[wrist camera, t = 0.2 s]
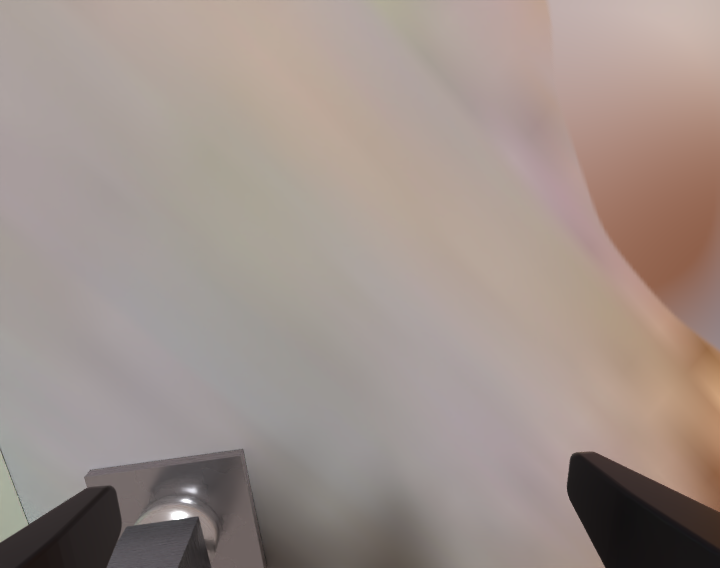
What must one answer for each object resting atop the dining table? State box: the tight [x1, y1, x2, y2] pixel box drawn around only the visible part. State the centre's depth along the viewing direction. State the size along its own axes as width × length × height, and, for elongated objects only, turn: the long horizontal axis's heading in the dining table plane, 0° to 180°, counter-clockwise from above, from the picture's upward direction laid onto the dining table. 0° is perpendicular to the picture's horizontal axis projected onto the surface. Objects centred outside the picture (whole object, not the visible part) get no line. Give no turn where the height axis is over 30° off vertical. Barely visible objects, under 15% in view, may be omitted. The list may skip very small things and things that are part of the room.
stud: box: [84, 449, 267, 568], centre depth 23 cm, size 9×9×2 cm
